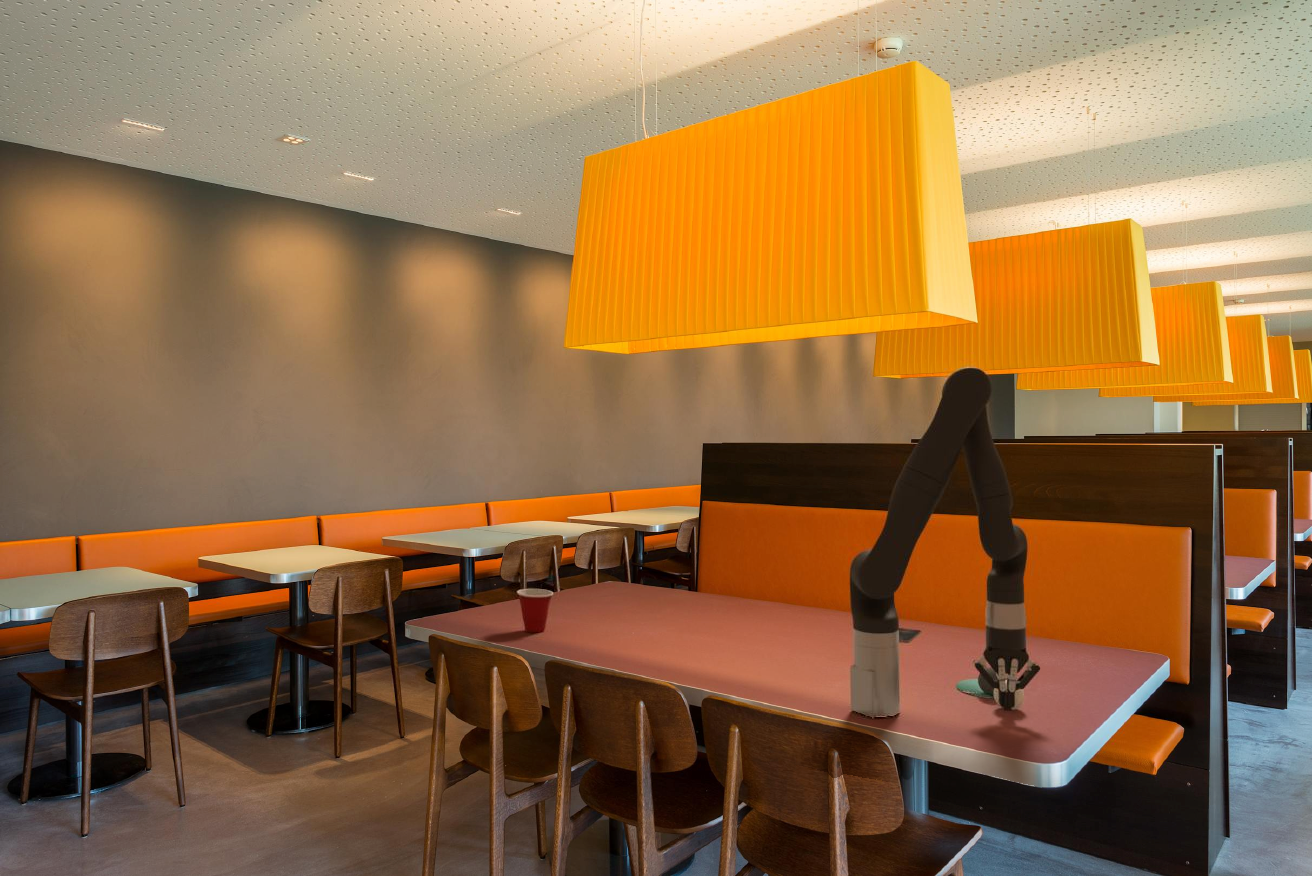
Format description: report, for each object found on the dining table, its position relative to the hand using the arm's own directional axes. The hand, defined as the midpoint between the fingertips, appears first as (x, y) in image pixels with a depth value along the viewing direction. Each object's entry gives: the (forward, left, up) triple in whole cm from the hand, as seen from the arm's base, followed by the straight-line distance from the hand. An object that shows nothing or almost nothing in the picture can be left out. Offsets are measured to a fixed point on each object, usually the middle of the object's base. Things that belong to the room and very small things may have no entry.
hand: (1006, 708), depth 170 cm
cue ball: (+5, +3, +1) cm, 6 cm away
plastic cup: (-45, +126, -2) cm, 134 cm away
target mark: (+13, +14, -2) cm, 19 cm away
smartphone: (+37, +58, -2) cm, 69 cm away
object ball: (+10, +10, +1) cm, 15 cm away
